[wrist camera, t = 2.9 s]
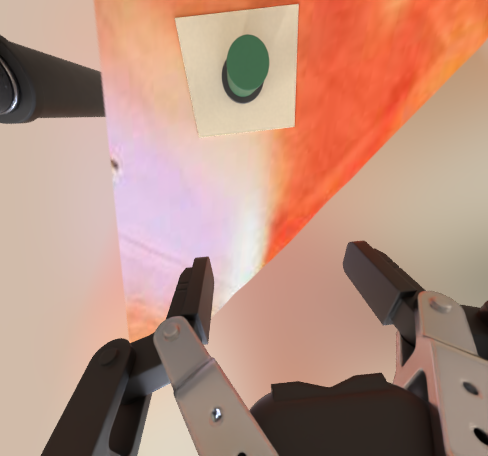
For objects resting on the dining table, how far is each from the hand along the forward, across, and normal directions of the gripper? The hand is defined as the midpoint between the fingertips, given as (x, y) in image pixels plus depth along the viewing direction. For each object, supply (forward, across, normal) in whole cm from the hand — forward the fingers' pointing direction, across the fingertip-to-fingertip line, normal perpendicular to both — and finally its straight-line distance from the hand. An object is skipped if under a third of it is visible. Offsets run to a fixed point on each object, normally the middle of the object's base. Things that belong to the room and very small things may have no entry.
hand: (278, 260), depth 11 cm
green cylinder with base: (+27, 0, +12) cm, 29 cm away
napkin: (+27, 0, +12) cm, 29 cm away
